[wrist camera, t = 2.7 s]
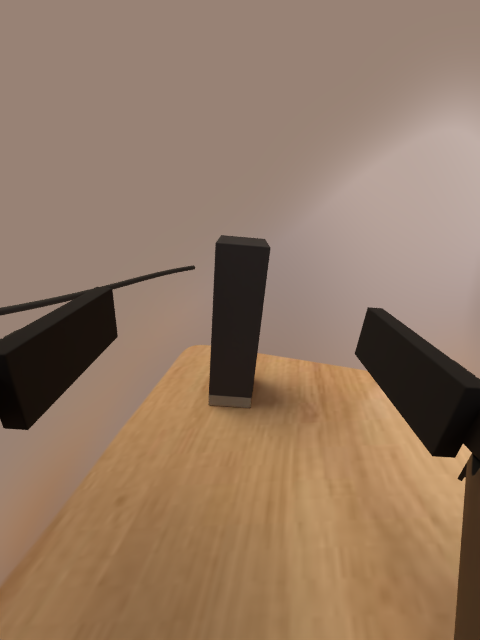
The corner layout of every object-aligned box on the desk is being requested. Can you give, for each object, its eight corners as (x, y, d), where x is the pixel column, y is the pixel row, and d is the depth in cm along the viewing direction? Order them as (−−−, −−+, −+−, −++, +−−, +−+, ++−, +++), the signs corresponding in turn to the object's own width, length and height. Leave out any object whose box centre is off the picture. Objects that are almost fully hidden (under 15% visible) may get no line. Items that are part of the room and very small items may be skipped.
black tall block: (250, 408, 25) (270, 247, 20) (208, 405, 25) (215, 242, 19) (249, 377, 30) (265, 239, 24) (213, 374, 30) (220, 235, 24)
